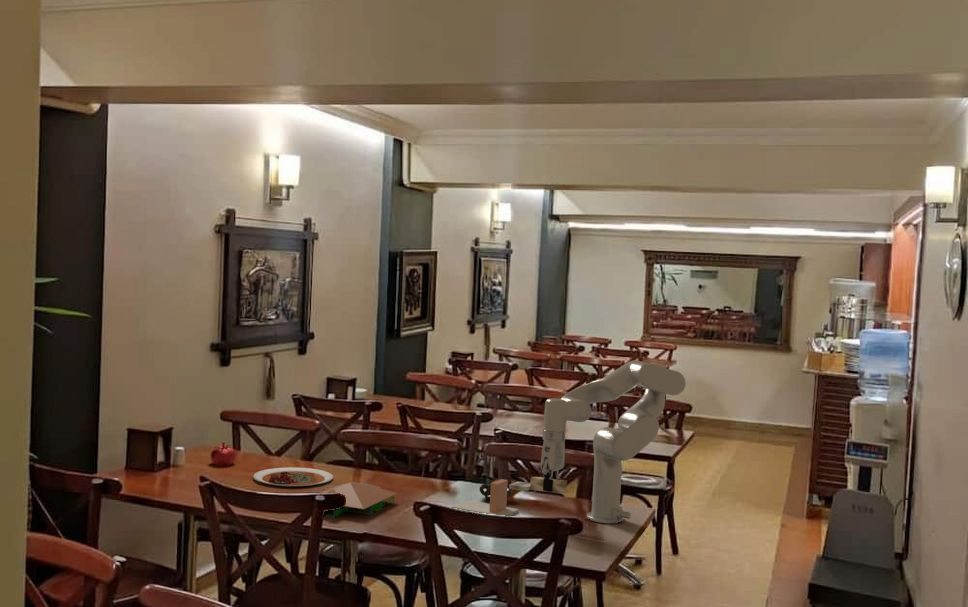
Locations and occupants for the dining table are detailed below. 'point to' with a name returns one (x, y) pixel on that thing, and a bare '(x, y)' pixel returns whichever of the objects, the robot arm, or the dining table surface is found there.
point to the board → (483, 508)
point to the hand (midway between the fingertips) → (549, 489)
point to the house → (361, 495)
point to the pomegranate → (223, 455)
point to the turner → (541, 485)
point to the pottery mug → (488, 489)
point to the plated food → (291, 476)
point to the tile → (498, 496)
